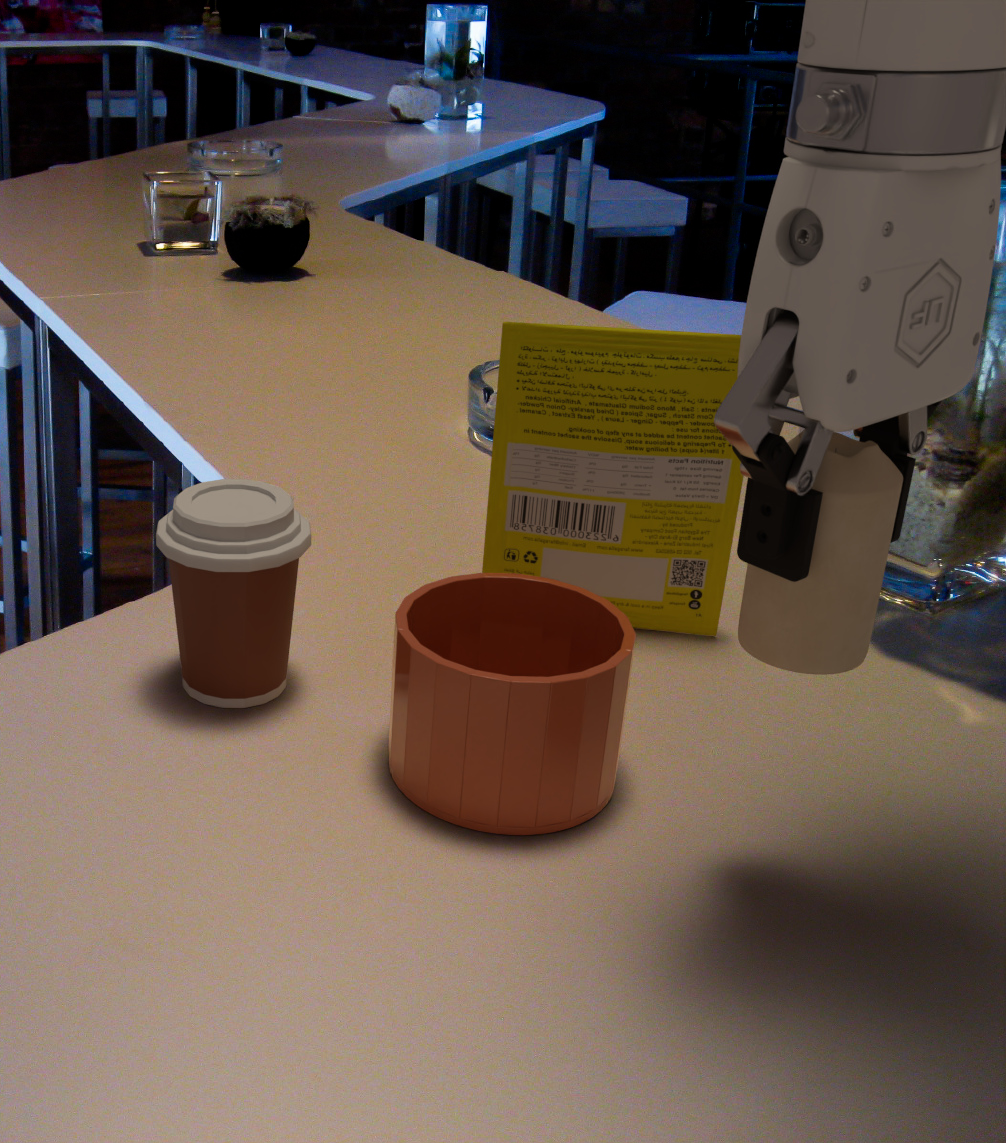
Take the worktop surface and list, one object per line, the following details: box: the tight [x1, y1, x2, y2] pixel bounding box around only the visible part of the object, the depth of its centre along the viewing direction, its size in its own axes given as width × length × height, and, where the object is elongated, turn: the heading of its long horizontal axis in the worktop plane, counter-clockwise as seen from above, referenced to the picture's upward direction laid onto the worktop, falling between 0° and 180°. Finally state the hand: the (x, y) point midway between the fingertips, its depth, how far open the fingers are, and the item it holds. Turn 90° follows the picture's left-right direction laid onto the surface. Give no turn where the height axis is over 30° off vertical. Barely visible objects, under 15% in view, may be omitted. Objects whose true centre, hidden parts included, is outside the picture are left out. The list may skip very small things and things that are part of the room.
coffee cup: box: [155, 478, 312, 709], centre depth 79 cm, size 9×9×12 cm
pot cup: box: [387, 572, 637, 836], centre depth 71 cm, size 12×12×9 cm
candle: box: [737, 428, 903, 676], centre depth 58 cm, size 6×6×10 cm
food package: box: [481, 321, 745, 637], centre depth 84 cm, size 15×1×20 cm, turn 77°
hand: (818, 547), depth 58 cm, fingers closed on candle, 5 cm apart
